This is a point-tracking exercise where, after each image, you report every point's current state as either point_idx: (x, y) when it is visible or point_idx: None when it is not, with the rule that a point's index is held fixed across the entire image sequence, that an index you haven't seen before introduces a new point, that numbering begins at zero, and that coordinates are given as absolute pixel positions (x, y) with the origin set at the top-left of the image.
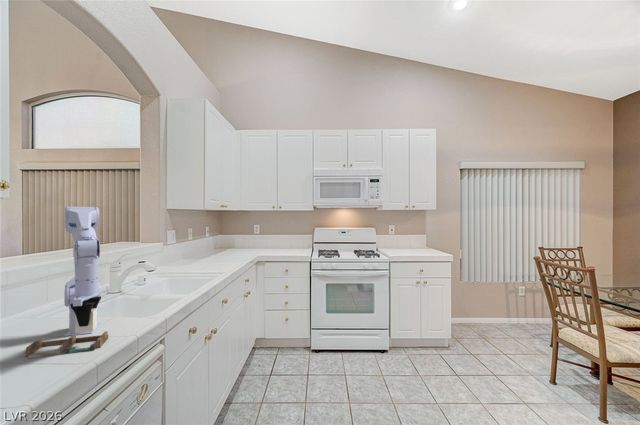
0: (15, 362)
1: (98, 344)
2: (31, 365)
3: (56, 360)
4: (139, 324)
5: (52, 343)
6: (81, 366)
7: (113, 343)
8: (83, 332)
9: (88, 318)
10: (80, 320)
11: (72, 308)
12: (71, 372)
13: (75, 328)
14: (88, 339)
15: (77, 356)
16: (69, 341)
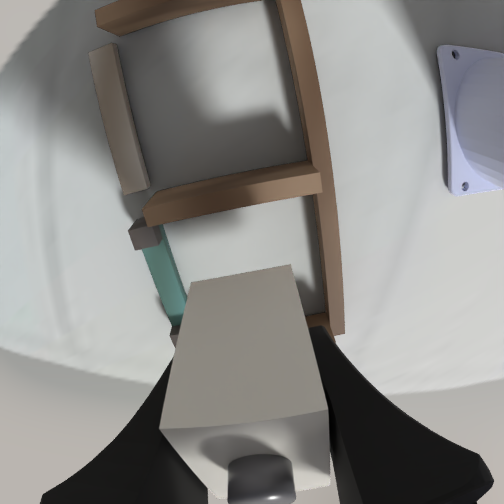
0: (65, 28)
1: None
2: (29, 143)
3: (74, 223)
4: (478, 344)
5: (289, 47)
6: (52, 345)
7: None
8: (461, 147)
9: None
10: None
11: (54, 493)
12: (18, 334)
13: (186, 306)
14: (322, 247)
15: (119, 291)
16: (204, 211)
